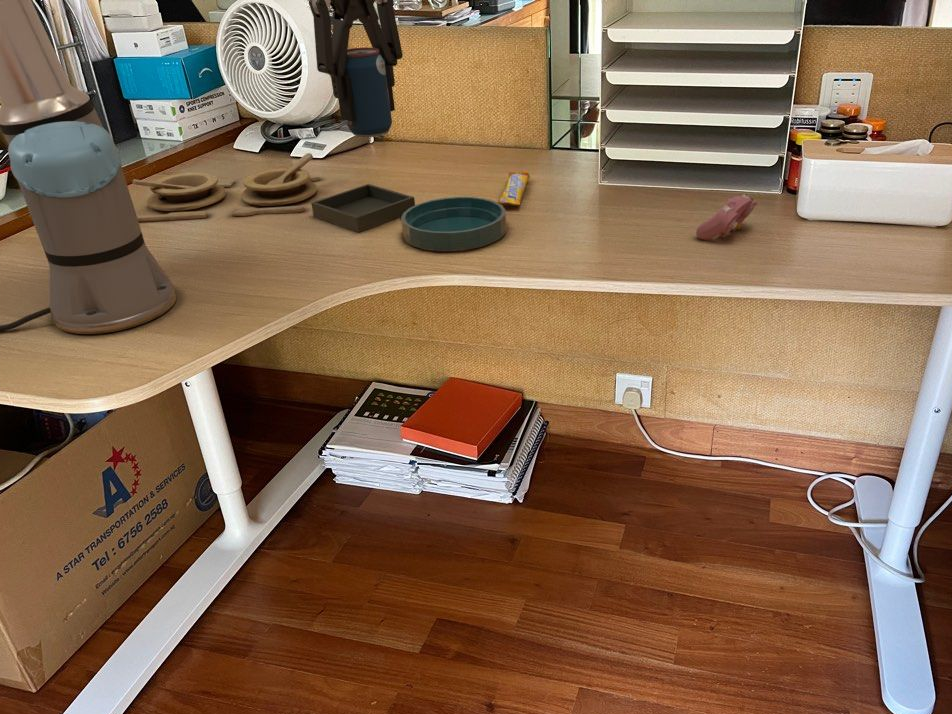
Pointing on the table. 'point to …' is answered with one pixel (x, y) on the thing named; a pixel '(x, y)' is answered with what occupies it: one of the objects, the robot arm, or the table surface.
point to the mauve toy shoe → (727, 218)
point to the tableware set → (207, 189)
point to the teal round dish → (454, 223)
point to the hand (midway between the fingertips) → (368, 114)
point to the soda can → (368, 92)
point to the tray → (362, 207)
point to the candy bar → (514, 189)
